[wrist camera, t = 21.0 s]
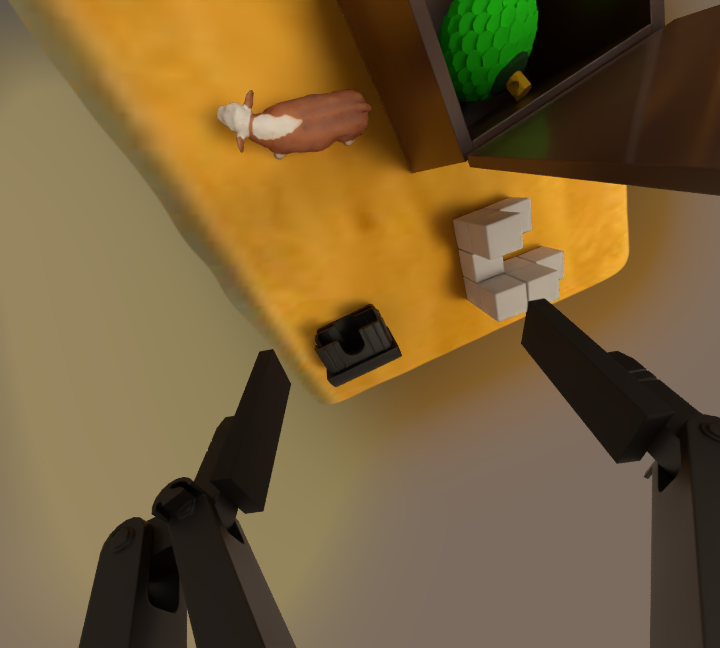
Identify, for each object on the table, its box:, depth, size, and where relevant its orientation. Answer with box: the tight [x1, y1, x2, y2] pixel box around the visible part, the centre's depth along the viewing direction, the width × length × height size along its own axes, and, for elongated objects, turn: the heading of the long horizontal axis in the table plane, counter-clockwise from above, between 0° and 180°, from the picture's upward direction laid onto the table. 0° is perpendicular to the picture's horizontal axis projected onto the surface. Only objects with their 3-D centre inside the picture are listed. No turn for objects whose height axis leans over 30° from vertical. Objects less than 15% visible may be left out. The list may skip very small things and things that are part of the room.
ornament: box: [438, 0, 538, 104], centre depth 24 cm, size 8×8×10 cm
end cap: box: [315, 304, 402, 387], centre depth 38 cm, size 10×7×7 cm
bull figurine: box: [217, 89, 372, 159], centre depth 26 cm, size 4×14×8 cm, turn 96°
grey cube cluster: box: [453, 197, 564, 322], centre depth 35 cm, size 12×12×8 cm
